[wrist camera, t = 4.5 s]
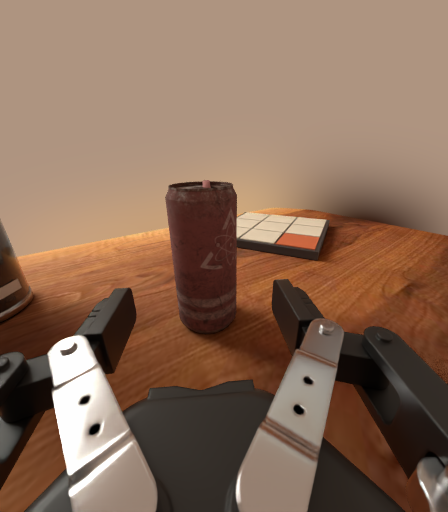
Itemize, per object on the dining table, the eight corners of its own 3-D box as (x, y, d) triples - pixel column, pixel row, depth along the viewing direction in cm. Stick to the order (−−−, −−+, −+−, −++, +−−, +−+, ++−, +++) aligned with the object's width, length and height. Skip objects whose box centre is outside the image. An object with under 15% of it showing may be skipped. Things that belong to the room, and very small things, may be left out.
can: (231, 297, 28) (231, 178, 22) (239, 333, 22) (241, 186, 17) (182, 300, 28) (169, 180, 22) (177, 338, 22) (158, 188, 16)
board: (204, 241, 47) (203, 233, 46) (245, 217, 65) (245, 211, 64) (317, 260, 37) (318, 251, 37) (328, 226, 55) (329, 219, 54)
